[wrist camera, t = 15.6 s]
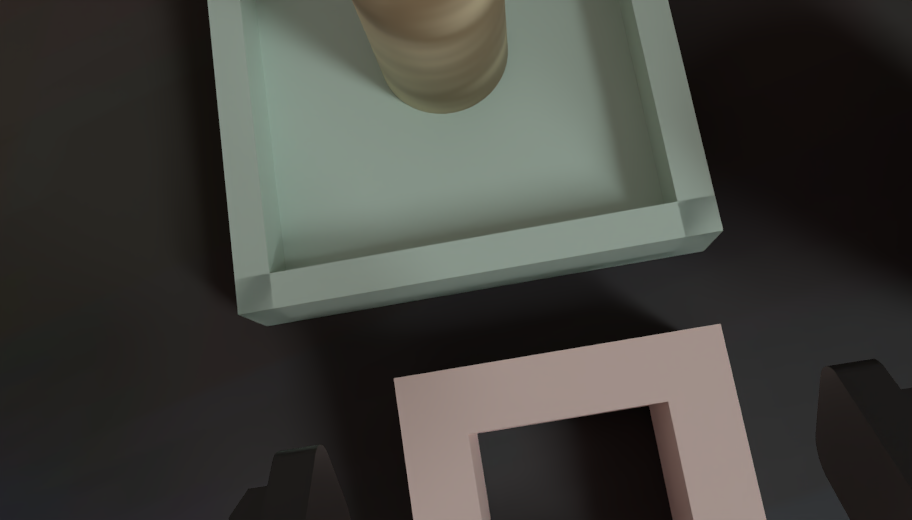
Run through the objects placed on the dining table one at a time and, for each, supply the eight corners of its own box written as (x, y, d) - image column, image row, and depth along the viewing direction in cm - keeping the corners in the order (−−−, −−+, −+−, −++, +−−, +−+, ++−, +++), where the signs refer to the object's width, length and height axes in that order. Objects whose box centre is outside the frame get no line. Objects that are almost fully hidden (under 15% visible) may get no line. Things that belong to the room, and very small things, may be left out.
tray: (604, -176, 32) (611, -236, 30) (703, 251, 28) (723, 230, 26) (222, -98, 33) (192, -149, 30) (267, 326, 29) (237, 314, 26)
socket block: (694, 338, 28) (720, 323, 24) (763, 646, 26) (804, 684, 22) (412, 385, 28) (393, 378, 25) (456, 689, 26) (443, 735, 22)
